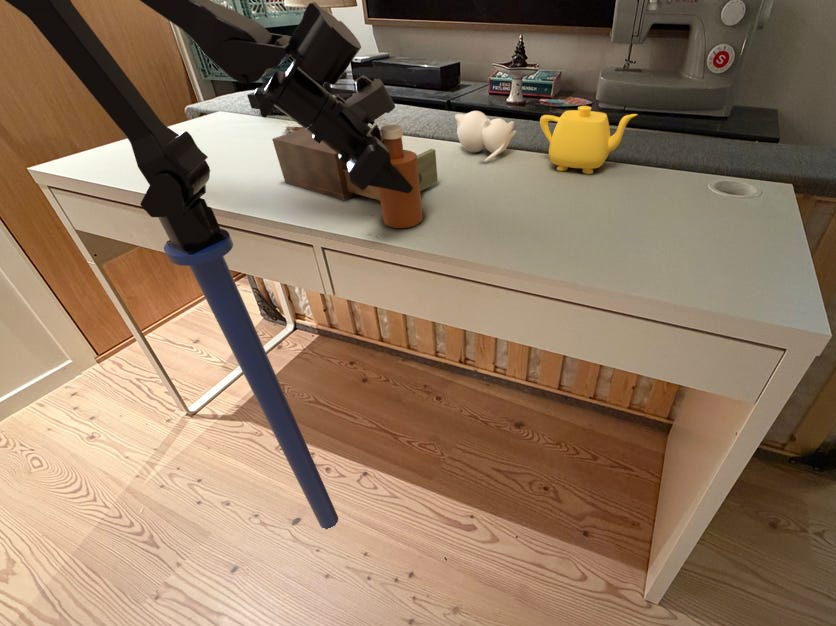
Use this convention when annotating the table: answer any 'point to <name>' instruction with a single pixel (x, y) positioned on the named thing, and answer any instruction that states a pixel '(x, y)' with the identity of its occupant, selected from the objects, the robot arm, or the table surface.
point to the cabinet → (311, 164)
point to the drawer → (425, 173)
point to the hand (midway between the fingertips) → (407, 182)
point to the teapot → (582, 138)
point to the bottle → (400, 205)
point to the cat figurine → (483, 133)
